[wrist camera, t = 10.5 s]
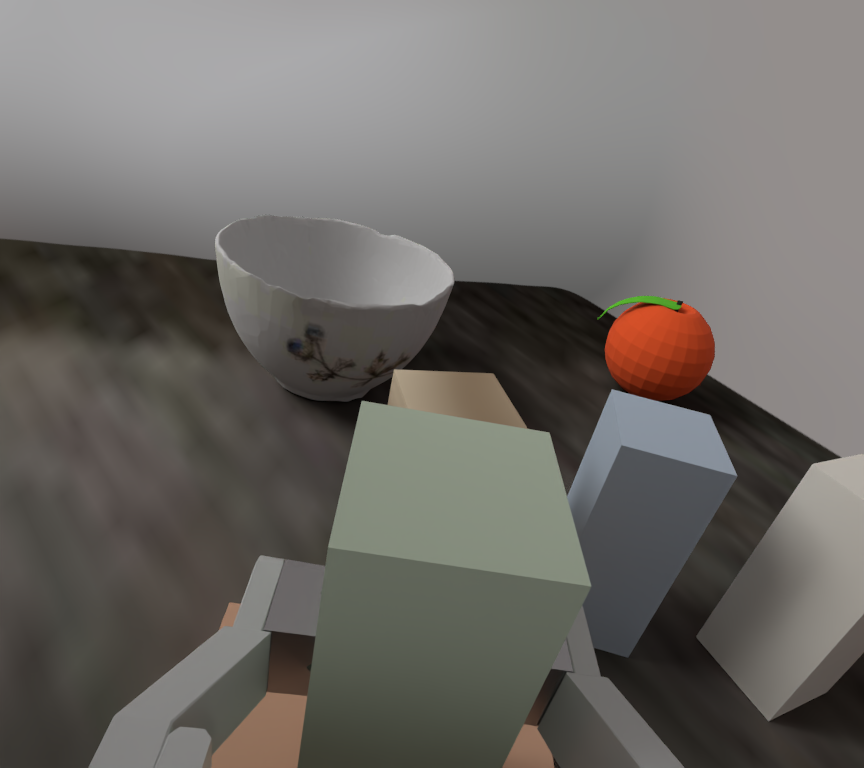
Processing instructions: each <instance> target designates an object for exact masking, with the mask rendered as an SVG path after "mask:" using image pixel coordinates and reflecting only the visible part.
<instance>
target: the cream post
mask: <svg viewBox="0 0 864 768" xmlns="http://www.w3.org/2000/svg"><path fill="white" fill-rule="evenodd" d="M696 638H697V639H698V640H699V641H700V642H701V644H702V645H703V646H704V647H705V648H706V649H707V651H708V652H709V653H710V654H711V655H712V656H713V658H714V659H715V660H716V661H717V662H718V663H719V665H720V666H721V667H722V668H723V669H724V670H725V671H726V673H727V674H728V675H729V676H730V677H731V678H732V680H733V681H734V682H735V683H736V684H737V685H738V687H739V688H740V689H741V690H742V691H743V692H744V694H745V695H746V696H747V697H748V698H749V699H750V701H751V702H752V703H753V704H754V705H755V706H756V707H757V709H758V710H759V711H760V712H761V713H762V714H763V716H764V717H765V718H766V719H767V720H768V721H770V720H772V719H774V718H776V717H778V716H780V715H782V714H784V713H786V712H788V711H790V710H792V709H794V708H796V707H798V706H800V705H802V704H804V703H806V702H808V701H810V700H812V699H814V698H816V697H818V696H820V695H822V694H824V693H826V692H828V691H829V689H830V688H831V687H832V686H833V685H834V684H835V683H836V682H837V681H838V680H839V679H840V678H841V677H842V676H843V674H844V673H845V672H846V671H847V670H848V669H849V668H850V667H851V666H852V665H853V664H854V663H855V662H856V661H857V660H858V658H859V657H860V656H861V655H862V654H863V653H864V454H860V455H855V456H850V457H845V458H840V459H835V460H830V461H825V462H820V463H815V464H812V466H811V467H810V469H809V470H808V472H807V473H806V475H805V476H804V477H803V479H802V480H801V482H800V483H799V485H798V486H797V488H796V489H795V491H794V492H793V494H792V495H791V497H790V498H789V500H788V501H787V503H786V504H785V506H784V507H783V509H782V510H781V511H780V513H779V514H778V516H777V517H776V519H775V520H774V522H773V523H772V525H771V526H770V528H769V529H768V531H767V532H766V534H765V535H764V537H763V538H762V540H761V541H760V543H759V544H758V545H757V547H756V548H755V550H754V551H753V553H752V554H751V556H750V557H749V559H748V560H747V562H746V563H745V565H744V566H743V568H742V569H741V571H740V572H739V574H738V575H737V577H736V578H735V579H734V581H733V582H732V584H731V585H730V587H729V588H728V590H727V591H726V593H725V594H724V596H723V597H722V599H721V600H720V602H719V603H718V605H717V606H716V608H715V609H714V610H713V612H712V613H711V615H710V616H709V618H708V619H707V621H706V622H705V624H704V625H703V627H702V628H701V630H700V631H699V633H698V634H697V636H696Z"/></svg>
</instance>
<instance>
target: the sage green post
mask: <svg viewBox="0 0 864 768" xmlns="http://www.w3.org/2000/svg"><path fill="white" fill-rule="evenodd" d="M590 588H591V583H590V579H589V576H588V572H587V568H586V565H585V561H584V557H583V554H582V550H581V546H580V543H579V539H578V535H577V532H576V528H575V524H574V521H573V517H572V513H571V510H570V506H569V502H568V499H567V495H566V491H565V488H564V484H563V480H562V477H561V473H560V469H559V466H558V462H557V458H556V455H555V451H554V448H553V444H552V440H551V437H550V433H549V432H543V431H537V430H531V429H525V428H519V427H513V426H508V425H502V424H496V423H490V422H484V421H478V420H472V419H466V418H461V417H455V416H449V415H443V414H437V413H431V412H425V411H419V410H414V409H408V408H402V407H396V406H390V405H384V404H378V403H372V402H367V401H362V402H361V406H360V410H359V415H358V419H357V424H356V428H355V432H354V437H353V441H352V445H351V450H350V454H349V458H348V463H347V467H346V471H345V476H344V480H343V484H342V489H341V493H340V497H339V502H338V506H337V510H336V515H335V519H334V524H333V528H332V532H331V537H330V541H329V545H328V551H327V558H326V565H325V573H324V580H323V587H322V594H321V601H320V609H319V616H318V623H317V630H316V637H315V644H314V652H313V659H312V666H311V673H310V680H309V687H308V695H307V702H306V709H305V716H304V723H303V730H302V738H301V745H300V752H299V759H298V766H297V768H502V767H503V765H504V763H505V761H506V759H507V757H508V755H509V753H510V751H511V749H512V747H513V745H514V742H515V740H516V738H517V736H518V734H519V732H520V730H521V728H522V726H523V724H524V722H525V720H526V718H527V716H528V714H529V712H530V710H531V708H532V706H533V704H534V702H535V700H536V698H537V696H538V694H539V692H540V690H541V688H542V686H543V684H544V682H545V680H546V678H547V676H548V674H549V672H550V670H551V667H552V665H553V663H554V661H555V659H556V657H557V655H558V653H559V651H560V649H561V647H562V645H563V643H564V641H565V639H566V637H567V635H568V633H569V631H570V629H571V627H572V625H573V623H574V621H575V619H576V617H577V615H578V613H579V611H580V609H581V607H582V605H583V603H584V601H585V599H586V597H587V595H588V592H589V590H590Z"/></svg>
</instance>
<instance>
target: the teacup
mask: <svg viewBox="0 0 864 768" xmlns="http://www.w3.org/2000/svg"><path fill="white" fill-rule="evenodd" d="M215 250H216V258H217V266H218V274H219V280H220V285H221V289H222V292H223V296H224V300H225V304H226V307H227V310H228V313H229V315H230V318H231V320H232V322H233V325H234V327H235V329H236V331H237V333H238V334H239V336H240V338H241V340H242V341H243V343H244V344H245V346H246V347H247V348H248V350H249V351H250V353H251V354H252V356H253V357H254V358H255V359H256V360H257V361H258V362H259V363H260V364H261V365H262V366H263V367H264V368H265V369H266V370H267V371H268V372H269V373H270V374H271V375H273V376H274V377H275V378H276V380H277V381H278V383H279V384H280V385H281V386H282V387H283V388H285V389H287V390H288V391H290V392H292V393H294V394H297V395H300V396H303V397H306V398H309V399H312V400H317V401H342V402H349V401H351V400H353V399H357V398H362V397H363V396H364V395H365V394H366V393H367V392H368V391H369V390H370V389H371V388H374V387H376V386H378V385H379V384H381V383H383V382H385V381H387V380H388V379H390V378H391V377H393V372H394V369H397V370H401V369H402V368H404V367H405V366H406V365H407V364H408V363H409V362H410V361H411V360H412V359H413V358H414V357H415V356H416V355H417V353H418V352H419V351H420V350H421V348H422V347H423V346H424V344H425V343H426V341H427V340H428V338H429V337H430V335H431V334H432V332H433V330H434V329H435V327H436V325H437V323H438V321H439V318H440V316H441V314H442V312H443V310H444V308H445V305H446V303H447V300H448V297H449V295H450V292H451V290H452V287H453V284H454V275H453V272H452V270H451V269H450V268H449V266H448V264H446V263H445V262H444V261H443V260H442V259H441V258H440V256H439V255H437V254H436V253H434V252H432V251H431V250H429V249H427V248H425V247H424V246H422V245H419V244H416V243H414V242H413V241H410V240H407V239H404V238H402V237H400V236H398V235H391V236H386V235H381V234H379V233H378V231H376V230H373V229H371V228H369V227H366V226H362V225H359V224H356V223H351V222H346V221H343V220H339V219H338V220H337V219H331V218H305V217H277V216H272V215H262V216H257V217H254V218H251V219H248V218H243V219H239V220H237V221H235V222H233V223H231V224H229V225H228V226H227V227H225V228H223V229H222V230H221V231H220V232H219V233H218V234H217V236H216V240H215Z"/></svg>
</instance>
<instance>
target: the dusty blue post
mask: <svg viewBox="0 0 864 768" xmlns="http://www.w3.org/2000/svg"><path fill="white" fill-rule="evenodd" d="M736 477H737V474H736V472H735V470H734V467H733V465H732V463H731V461H730V458H729V456H728V454H727V452H726V449H725V447H724V445H723V443H722V441H721V438H720V436H719V434H718V432H717V429H716V427H715V425H714V423H713V420H712V418H711V416H710V415H708V414H704V413H701V412H697V411H693V410H689V409H685V408H681V407H678V406H674V405H670V404H666V403H662V402H658V401H655V400H651V399H647V398H643V397H639V396H636V395H632V394H628V393H624V392H620V391H616V390H613V389H612V390H611V392H610V395H609V397H608V400H607V402H606V404H605V407H604V409H603V412H602V414H601V416H600V419H599V421H598V424H597V426H596V429H595V431H594V433H593V436H592V438H591V441H590V443H589V445H588V448H587V450H586V453H585V455H584V457H583V460H582V462H581V465H580V467H579V469H578V472H577V474H576V477H575V479H574V482H573V484H572V486H571V489H570V491H569V494H568V496H567V499H568V502H569V506H570V510H571V513H572V517H573V521H574V524H575V528H576V532H577V535H578V539H579V543H580V546H581V550H582V554H583V557H584V561H585V565H586V568H587V572H588V576H589V579H590V583H591V588H590V590H589V592H588V595H587V597H586V599H585V601H584V603H583V605H582V606H583V609H584V613H585V616H586V620H587V624H588V628H589V632H590V636H591V640H592V644H593V648H596V649H600V650H603V651H606V652H610V653H613V654H617V655H620V656H624V657H627V658H628V657H629V655H630V654H631V652H632V650H633V649H634V647H635V645H636V644H637V642H638V640H639V639H640V637H641V635H642V634H643V632H644V630H645V629H646V627H647V625H648V624H649V622H650V620H651V619H652V617H653V615H654V614H655V612H656V610H657V609H658V607H659V605H660V604H661V602H662V600H663V599H664V597H665V596H666V594H667V592H668V591H669V589H670V587H671V586H672V584H673V582H674V581H675V579H676V577H677V576H678V574H679V572H680V571H681V569H682V567H683V566H684V564H685V562H686V561H687V559H688V557H689V556H690V554H691V552H692V551H693V549H694V547H695V546H696V544H697V542H698V541H699V539H700V537H701V536H702V534H703V532H704V531H705V529H706V527H707V526H708V524H709V522H710V521H711V519H712V517H713V516H714V514H715V512H716V511H717V509H718V507H719V506H720V504H721V502H722V501H723V499H724V497H725V496H726V494H727V492H728V491H729V489H730V487H731V486H732V484H733V482H734V481H735V479H736Z"/></svg>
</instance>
